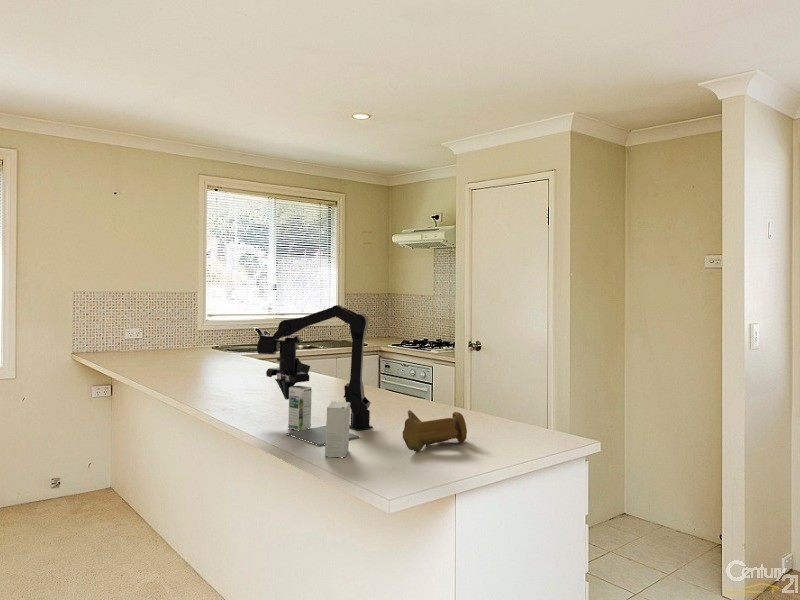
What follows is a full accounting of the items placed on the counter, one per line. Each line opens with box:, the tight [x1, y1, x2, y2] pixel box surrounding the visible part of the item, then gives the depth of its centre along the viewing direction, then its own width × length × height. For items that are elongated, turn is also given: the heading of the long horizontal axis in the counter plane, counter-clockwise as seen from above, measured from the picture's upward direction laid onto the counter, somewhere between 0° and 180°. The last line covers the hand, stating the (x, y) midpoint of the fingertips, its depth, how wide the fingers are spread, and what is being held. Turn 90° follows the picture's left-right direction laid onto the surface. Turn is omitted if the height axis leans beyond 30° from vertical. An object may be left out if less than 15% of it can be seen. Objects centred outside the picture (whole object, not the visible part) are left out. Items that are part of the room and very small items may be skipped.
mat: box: [285, 425, 360, 446], centre depth 192 cm, size 18×16×1 cm
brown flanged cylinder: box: [402, 409, 468, 453], centre depth 184 cm, size 18×13×22 cm
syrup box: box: [287, 385, 313, 431], centre depth 201 cm, size 6×6×14 cm
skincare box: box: [324, 400, 351, 458], centre depth 172 cm, size 8×6×15 cm
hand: (287, 399), depth 207 cm, fingers closed
